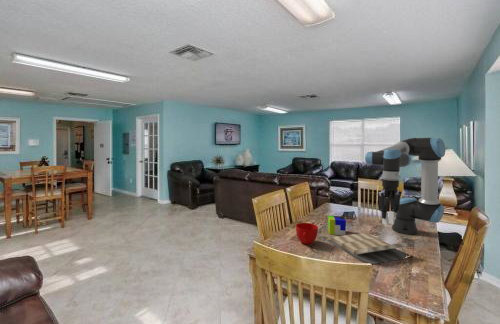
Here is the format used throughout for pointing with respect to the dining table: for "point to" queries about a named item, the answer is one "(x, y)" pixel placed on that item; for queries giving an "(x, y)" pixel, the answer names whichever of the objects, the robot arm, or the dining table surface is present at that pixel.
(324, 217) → the dining table surface
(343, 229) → the puzzle toy
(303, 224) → the ceramic cup
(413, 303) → the dining table surface
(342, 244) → the floor section
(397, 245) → the birch plank
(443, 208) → the robot arm
